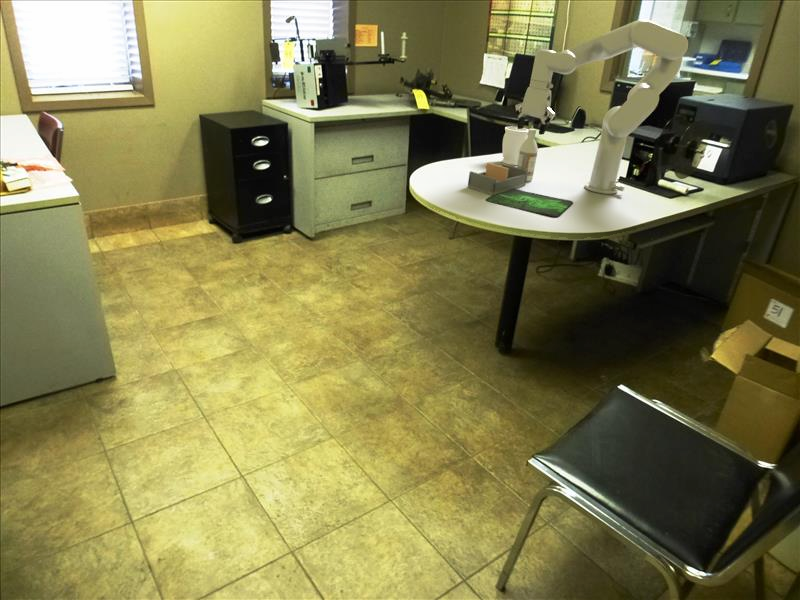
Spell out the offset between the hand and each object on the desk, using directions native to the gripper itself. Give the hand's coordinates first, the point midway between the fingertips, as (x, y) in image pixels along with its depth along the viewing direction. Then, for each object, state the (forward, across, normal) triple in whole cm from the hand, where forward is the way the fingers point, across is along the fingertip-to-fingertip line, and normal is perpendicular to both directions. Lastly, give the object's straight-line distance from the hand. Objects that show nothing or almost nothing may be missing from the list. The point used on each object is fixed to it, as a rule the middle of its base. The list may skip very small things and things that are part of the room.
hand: (530, 131), depth 223 cm
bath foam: (+19, -1, 0) cm, 19 cm away
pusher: (+18, 0, +21) cm, 28 cm away
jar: (+19, +17, -18) cm, 32 cm away
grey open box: (+19, 0, +18) cm, 26 cm away
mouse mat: (+20, -18, +23) cm, 35 cm away
